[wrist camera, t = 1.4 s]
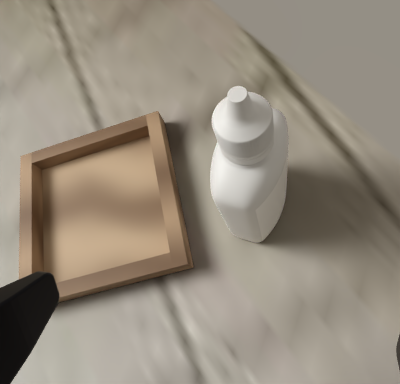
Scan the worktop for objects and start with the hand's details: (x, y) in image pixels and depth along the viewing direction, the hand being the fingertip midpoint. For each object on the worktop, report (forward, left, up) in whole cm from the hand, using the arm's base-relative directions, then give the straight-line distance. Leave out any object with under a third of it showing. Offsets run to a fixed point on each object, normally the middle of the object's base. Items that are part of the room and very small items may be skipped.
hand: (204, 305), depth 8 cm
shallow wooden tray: (+5, +12, -13) cm, 18 cm away
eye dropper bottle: (+7, 0, -13) cm, 15 cm away
